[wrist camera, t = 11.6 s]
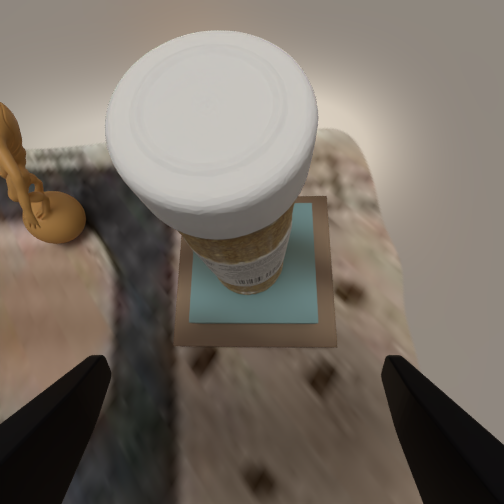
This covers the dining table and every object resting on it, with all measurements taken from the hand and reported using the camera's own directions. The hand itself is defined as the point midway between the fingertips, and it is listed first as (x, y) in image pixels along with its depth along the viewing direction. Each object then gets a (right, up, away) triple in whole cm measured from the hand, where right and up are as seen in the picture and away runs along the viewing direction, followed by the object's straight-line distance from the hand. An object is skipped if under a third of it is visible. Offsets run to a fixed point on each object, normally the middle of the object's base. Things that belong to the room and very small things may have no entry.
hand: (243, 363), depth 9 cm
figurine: (-14, +6, +15) cm, 21 cm away
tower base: (+1, +2, +13) cm, 13 cm away
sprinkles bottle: (0, +3, +10) cm, 10 cm away
